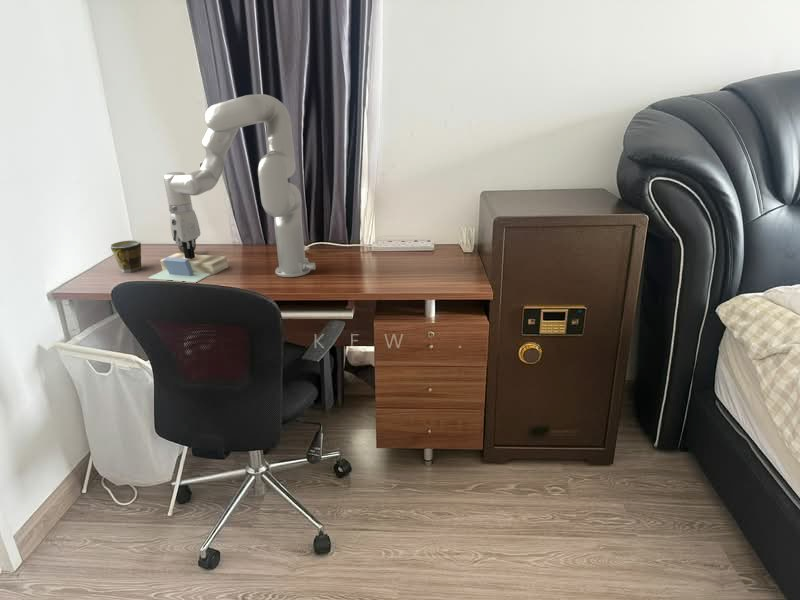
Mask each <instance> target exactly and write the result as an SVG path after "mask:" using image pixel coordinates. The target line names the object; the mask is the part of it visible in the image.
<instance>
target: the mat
mask: <svg viewBox="0 0 800 600" xmlns="http://www.w3.org/2000/svg"><path fill="white" fill-rule="evenodd" d="M210 276H211V274H208V273H196V272H194V273H193V274H192V275H191V276H185V275H174V274H169V272H168V270H163V271H162V270H161V271H159V272H157V273H155V274H153V275H150V276H149V277H147V278H146V279H147V280H158V281H166V280H173V281H172V282H178V281H186V282H185V283H189V282H197V283H198V282H200V281H202V280H204V279H206V278H208V277H210Z"/></svg>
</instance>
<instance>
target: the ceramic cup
mask: <svg viewBox="0 0 800 600" xmlns="http://www.w3.org/2000/svg"><path fill="white" fill-rule="evenodd" d="M109 246H110V251H111V252H112V255H113V256H114V258H115V261H116V263H117V264H118V265H117V266H118V267H119V270H120V271H121V272H122V273H135V272H138V271H140V269H142V245H141V241H140V240H136V239H135V240H134V239H132V240H131V239H130V240H121V241H117V242H114V243H112V244H110V245H109Z"/></svg>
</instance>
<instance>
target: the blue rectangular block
mask: <svg viewBox="0 0 800 600" xmlns="http://www.w3.org/2000/svg"><path fill="white" fill-rule="evenodd" d="M164 258H165V259H164ZM164 258H163V259H164V260H163V261H164V263H165V265H166V267H167V270H168V272H169V274H174V275H185V276H191V275H192V274H193V273H194V272H193V270H192V267H191V265H190V262H189V260H188V259H184V258H171V257H169V256H167V257H164Z"/></svg>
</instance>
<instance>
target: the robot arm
mask: <svg viewBox="0 0 800 600" xmlns="http://www.w3.org/2000/svg"><path fill="white" fill-rule="evenodd" d="M204 122H205V124H206V126H207V129H206V132H205V134H204V135H203V137H202V139H201V145H202V147H203V148H204V149H205V157H204V159H203V162H202V163H201V166H200V168H199V170H195V171H193V172H190V173H189V172H188V173H185V172H182V171H171V172H167V173H165V174H164V175H163V183H164V188H165V192H166V197H167V203H168V207H169V208H168V209H169V212H170V214H169V223H170V224H169V225H170V231H171V238H172V240H173V241H174V242H175V246H177V247H178V246H181V247H182V248H183V250H184V253H183V254H184V255H185V258H186V259H193V258H195V254H196V253H195V250H194V248H193V247H194V242H195V240H196V241H197V239H198V238H199V237H200V236H201V228H200V224H199V221H198V217H197V214H196V211H195V210H194V209H193V204H192V197H191V196H199V195H201V194H204V193H206V192H209V191H211V190H213V189H214V188H215V187H216V185H217V184H218V182H219V180H220V178H221V177H222V174H223V172H224V170H225V167H226V166H225V165H226V161H227V153H228V151H229V150H230V148H231V145H232V143H233V141H234V140H235V137H236V135H237V133H238V131H239V129H240V128H245V127H247V126H251V125H256V124H261V123H264V124H265V126H266V133H265V140H266V148H267V150H266V151H267V153H266V154H265V155H263V156H262V157H261V159H260V160H259V162H258V167H257V177H258V186H259V192H260V202H261V206H262V207H263V210H264V212H265V213H267V214H268V215H269V216H271V217H273V227H274V235H275V243H276V253H277V259H278V260H277V261H278V266H277V267H276V268H275V269H274V270H275V271H274V273H275V275H276V276H279V277H282V278H295V277H301V276H305V275H307V274H310V273H311V271H312V270H314V271H315V270H316V268H317V266H316V263H315V262H309V258H308V257H306V249H305V241H304V229H303V218H302V214H303V213H302V207H303V206H302V203H303V202H302V194H301V191H300V190H299V188H298V187H297V186H296V185H295V184H294V183H291V182H289V180H288V179H290V177H292V176H293V175H294V174H295V172H296V158H295V148H294V146H295V145H294V139H293V127H292V120H291V116H290V113H289V110H288V108H287V107H286V106H285V104H284V103H283V102H282V101H280V100H279V99H278V98H276V97H274V96H271V95H269V94H265V93H263V94H262V93H261V94H259V93H257V94H246V95H243V96H239V97H235V98H232V99H228V100H225V101H221V102H217V103H214V104H212V105H210V106H209V107H208V108H207V110H206V111H205V113H204Z"/></svg>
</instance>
